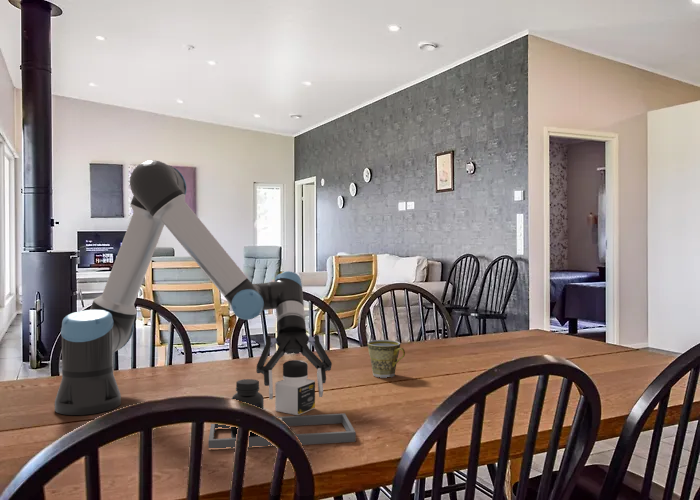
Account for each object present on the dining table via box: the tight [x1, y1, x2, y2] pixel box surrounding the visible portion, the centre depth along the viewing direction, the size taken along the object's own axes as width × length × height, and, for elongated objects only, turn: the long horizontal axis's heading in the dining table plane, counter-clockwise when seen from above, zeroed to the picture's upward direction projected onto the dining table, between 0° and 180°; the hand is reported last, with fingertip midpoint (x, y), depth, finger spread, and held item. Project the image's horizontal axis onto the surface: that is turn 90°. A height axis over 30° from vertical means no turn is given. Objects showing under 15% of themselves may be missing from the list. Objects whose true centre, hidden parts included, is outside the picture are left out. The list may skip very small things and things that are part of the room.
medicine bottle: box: [274, 359, 316, 416], centre depth 147 cm, size 7×7×12 cm
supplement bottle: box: [230, 378, 264, 438], centre depth 127 cm, size 7×7×12 cm
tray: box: [207, 412, 357, 449], centre depth 128 cm, size 30×13×2 cm, turn 100°
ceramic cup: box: [367, 339, 406, 379], centre depth 181 cm, size 13×10×10 cm
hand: (296, 395), depth 144 cm, fingers open, 11 cm apart
